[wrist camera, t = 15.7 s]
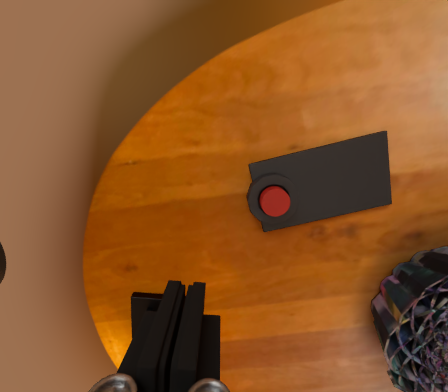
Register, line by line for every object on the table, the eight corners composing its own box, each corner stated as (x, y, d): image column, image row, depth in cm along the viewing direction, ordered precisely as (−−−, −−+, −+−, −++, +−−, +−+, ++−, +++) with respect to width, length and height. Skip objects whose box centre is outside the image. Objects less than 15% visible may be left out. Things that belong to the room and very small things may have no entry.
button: (262, 214, 30) (264, 219, 28) (256, 189, 29) (258, 192, 27) (288, 208, 30) (292, 213, 28) (284, 183, 29) (287, 185, 27)
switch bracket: (194, 337, 38) (171, 472, 22) (134, 332, 38) (71, 465, 22) (196, 296, 36) (173, 414, 20) (133, 291, 36) (63, 407, 20)
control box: (254, 232, 33) (256, 239, 30) (239, 166, 30) (240, 168, 28) (388, 202, 32) (402, 207, 29) (383, 130, 29) (397, 130, 27)
